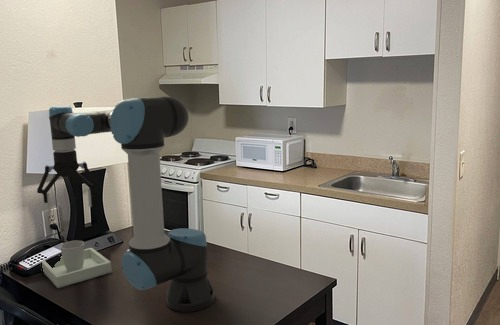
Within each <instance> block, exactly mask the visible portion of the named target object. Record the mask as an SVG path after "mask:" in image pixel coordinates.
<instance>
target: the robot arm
mask: <svg viewBox="0 0 500 325" xmlns="http://www.w3.org/2000/svg"><path fill="white" fill-rule="evenodd" d="M48 113H49V114H48V115H49V116H48V117H49V118H48V119H49V125H50V127H49V128H50V134H51V135H50V136H51V143H52V144H51V145H52V150H53V152H52V153H53V154H52V155H53V163H54V164H53V165H47V164H46V165H45V167H44V173H43V176H42V177H41V180H40V182H39V185H38V187H37V189H36V192H37V194H42V196H43V203H44V204H47V207H48V213H52V208H51V207H52V206H51V196H50V192H49V191H50V190H51V188H52V187H53V186H54V185H55V183H56V182H57V181H58V179H60V177H61V178H66V177H69V178H70V177H73V176H76V178H78V179H79V180H80V181H81V182H82V183H84V185H86V186H87V187H86V188H87V198H88V199H87V200H88V206H89V208H92V198H94V197H95V194H94V192H95V191H94V189H95V188H96V187H99V183H98V182H97V180H96V179H95V178H94V176H93V174H92V173H91V171H90V170H89V168H88V164H87V161H83V162H79V163H78V157H77V150H75V149H77V146H76V137H78V138H80V137H87V136H88V135H94V134H96V135H97V134H101V133H111V134H112V137H113V139H114V141H116V142H117V143H118V144H120V146H121V150H122V151H123V152H125V153H126V155H127V161H128V177H129V178H128V179H129V187H130V188H129V191H130V192H129V193H130V201H131V202H130V203H131V216H132V231H133V237H131V239H130V240H129V242H128V247H129V248H128V249H129V252H127V253H125V252H124V254H123V255H122V257H121V268H122V267H123V268H122V270H123V274H124V275H125V277H126V279H127V281H128V282H129V284H131V286H132V287H133V288H135V289H137V290H140V291H146V290H148V289H152V288H153V289H154V288H156V287H157V286H159V285H162V284H164V283H166V282H169V284H168V287H167V288H168V289H167V291H166V297H165V300H166V306H167V307H168V308H169V309H172V310H173V311H177V312H181V313H182V312H184V313H190V312H191V313H192V312H197V311H201V310H204V309H206V308H208V307H210V306H211V305H212V304H213V303H214V301H215V290H214V288H213V285H212V282H211V281H210V278H209V275H208V269H209V268H208V244H207V236H206V234H205V233H204V232H203V231H201V230H198V229H193V228H187V227H185V228H182V227H181V228H175V229H171V230H170V231H168V233H167V234H166V233H165V224H164V222H165V221H164V207H163V206H164V205H163V204H164V203H163V191H162V188H163V187H162V176H161V175H162V173H161V160H160V159H161V158H160V152H161V151H162V149H164V147H165V138H170V137H171V138H172V137H174V136H177V135H179V134H181V133H182V132H183V131H184V130H185V128H186V127H187V126H188V123H189V118H190V116H189V110H188V109H187V107H186V105H185V104H184V102H183V101H181V100H180V99H178V98H176V97H173V96H155V97H154V96H152V97H132V98H127V99H123V100H120V101H119V102H118V103H116V105H115V106H114V108H113V109H111V110H100V111H99V110H98V111H90V112H89V111H86V112H74V111H73V108H72V107H71V106H69V105H59V106H58V105H57V106H51V107H50V108H49V109H48ZM79 168H81V169H82V170H84V171H85V173H86V175H87V176H88V178H89V179H90V181H91V182H92V183H91V182H90V181H88V180H87V179H86V178H85V177H84V176H83V175H81V174H80V172H79V171H78V169H79ZM52 170H54V172H55V173H54V175H53V177H52V178H51V180H50V181H49V182H48V183H47V184H46V186H45V183H46V180H47V179H48V176H49V173H51V172H52ZM56 173H57V174H56ZM44 186H45V188H44Z"/></svg>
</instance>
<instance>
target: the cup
mask: <svg viewBox="0 0 500 325" xmlns="http://www.w3.org/2000/svg"><path fill="white" fill-rule="evenodd" d="M84 249H85V242H84V241H83V240H71V241H66V242H64V243H62V244H61V245H60V251H61V255H62V258H63V262H64V265H65V267H66V269H67V271H68V273H69V272H73V271H76V270H80V269H82V267H83V263H84Z"/></svg>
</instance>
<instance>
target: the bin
mask: <svg viewBox="0 0 500 325" xmlns="http://www.w3.org/2000/svg"><path fill="white" fill-rule="evenodd" d="M60 258H61V259H60V261H58V262H57V263H56V264H55V265H54V266H55V267H53V268H52V267H51V266H50V265H49V264H48V263H47V262H46V261H45V259H43V260H44V261H41V260H40V263H41V262H42V268H43V272H44V273H43V272H42V273H43V274H44V275H45V276H46V277H47V278H48V279H49V281H50V282H52V284H53V285H54V286H55V287H56V288H57V289H60V288H64V287H68V286H70V285H73V284H78V283H81V282H83V281H87V280H91V279H94V278H97V277H101V276H105V275H107V274H110V273H111V274H112V273H113V271H112V262H111V261H110V260H109V259H108V258H106V257H105V256H104V255H102V254H101V253H100V252H98V251H97V250H96V249H94V248H93V247H88V248H84V263H83V267H82V269H80V270H76V271H73V272H69V273H68V271H67V269H66V267H65V265H64V262H63V258H62V256H61V257H60Z"/></svg>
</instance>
